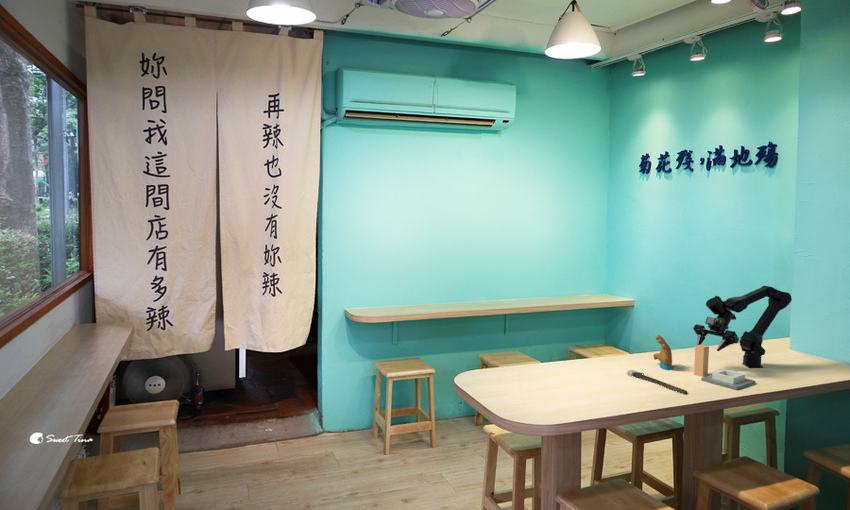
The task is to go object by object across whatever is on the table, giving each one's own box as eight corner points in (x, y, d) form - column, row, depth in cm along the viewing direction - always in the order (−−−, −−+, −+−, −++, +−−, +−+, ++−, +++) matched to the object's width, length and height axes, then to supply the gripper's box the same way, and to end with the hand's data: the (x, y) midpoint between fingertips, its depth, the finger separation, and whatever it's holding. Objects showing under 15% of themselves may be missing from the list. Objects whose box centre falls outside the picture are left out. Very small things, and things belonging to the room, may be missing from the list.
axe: (678, 390, 226) (625, 369, 254) (677, 396, 226) (625, 374, 254) (700, 390, 231) (645, 369, 258) (699, 396, 231) (644, 375, 258)
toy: (652, 362, 272) (653, 331, 270) (668, 363, 271) (669, 332, 269) (657, 370, 260) (658, 337, 259) (673, 371, 259) (675, 338, 257)
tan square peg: (699, 373, 256) (700, 344, 255) (707, 375, 253) (709, 346, 251) (693, 374, 254) (695, 345, 252) (702, 376, 250) (703, 347, 249)
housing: (720, 374, 253) (720, 366, 253) (755, 383, 241) (755, 375, 241) (701, 380, 245) (701, 372, 245) (736, 390, 233) (736, 381, 232)
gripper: (696, 306, 264) (681, 333, 259) (736, 313, 248) (721, 341, 243) (705, 321, 269) (690, 348, 264) (745, 329, 253) (730, 357, 248)
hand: (707, 348), depth 255 cm, fingers open, 9 cm apart
